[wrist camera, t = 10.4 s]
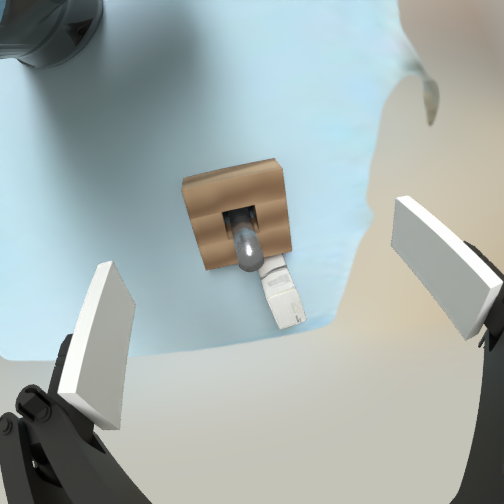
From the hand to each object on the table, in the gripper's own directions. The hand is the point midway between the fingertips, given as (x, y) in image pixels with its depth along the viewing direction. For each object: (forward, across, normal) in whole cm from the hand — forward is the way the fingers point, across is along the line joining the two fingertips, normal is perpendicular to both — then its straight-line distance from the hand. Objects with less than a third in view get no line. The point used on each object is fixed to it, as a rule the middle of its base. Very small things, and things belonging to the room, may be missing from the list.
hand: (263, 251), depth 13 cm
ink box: (+33, +4, -27) cm, 43 cm away
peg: (+33, 0, -14) cm, 36 cm away
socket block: (+33, 0, -14) cm, 36 cm away
